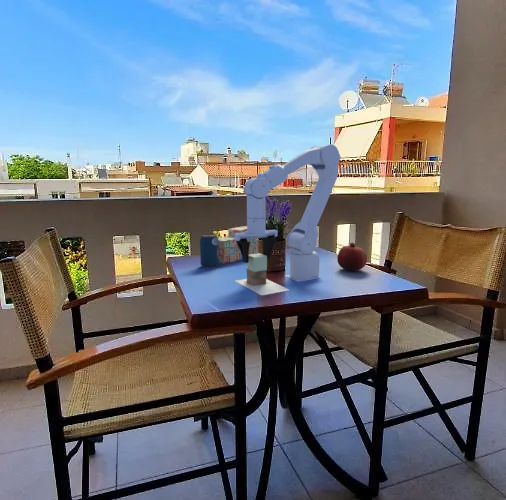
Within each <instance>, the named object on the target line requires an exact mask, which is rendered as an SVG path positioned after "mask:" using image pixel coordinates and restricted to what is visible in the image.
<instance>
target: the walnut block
mask: <svg viewBox="0 0 506 500" xmlns="http://www.w3.org/2000/svg"><path fill="white" fill-rule="evenodd" d="M246 279H247V282H248V283H250V284H252V285H259V284H265V283H266V279H267V270H263V271H257V272H254V271H251V270H249V269H247V268H246Z"/></svg>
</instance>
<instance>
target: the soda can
mask: <svg viewBox="0 0 506 500" xmlns="http://www.w3.org/2000/svg"><path fill="white" fill-rule="evenodd" d="M218 238H219V237H218V235H217V234H216V233H215V234H214V233H206V234H201V237H200V239H199V255H200V256H199V257H200V259H199V260H200V265H201V266H202V268H204V269H215V268H217V267H218V266H219V264H220V263H219V241H218Z"/></svg>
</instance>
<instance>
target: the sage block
mask: <svg viewBox="0 0 506 500" xmlns="http://www.w3.org/2000/svg"><path fill="white" fill-rule="evenodd" d="M246 264H247V265H246V266H247V267H246V270H247V269H249V270H251V271H254V272H257V271H263V270H266V271H267V270H268V260H267V256H266V255H264V253H259V252H258V253H257V254H250V255H249V262H248V263H246Z"/></svg>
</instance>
